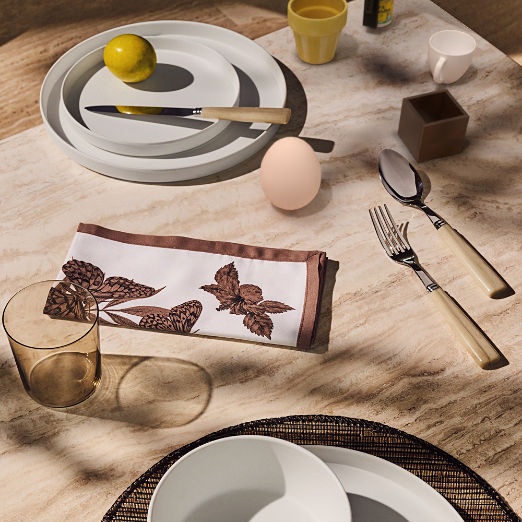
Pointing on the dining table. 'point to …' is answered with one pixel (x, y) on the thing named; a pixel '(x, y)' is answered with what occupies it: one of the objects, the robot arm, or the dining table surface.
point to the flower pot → (317, 27)
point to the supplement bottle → (385, 12)
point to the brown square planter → (432, 125)
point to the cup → (450, 55)
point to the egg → (290, 173)
